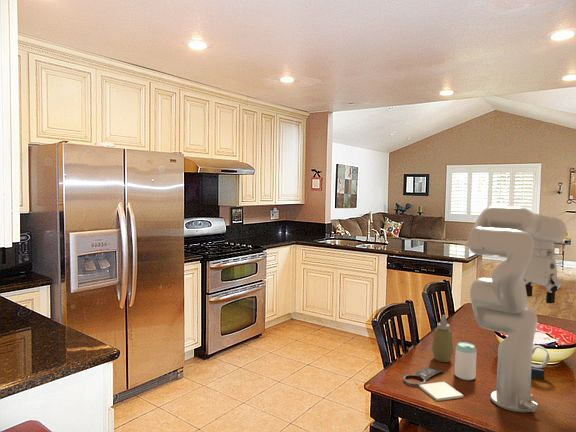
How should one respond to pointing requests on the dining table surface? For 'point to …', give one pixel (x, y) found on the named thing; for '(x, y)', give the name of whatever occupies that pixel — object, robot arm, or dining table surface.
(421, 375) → the keychain
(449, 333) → the squeeze bottle
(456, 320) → the dining table surface
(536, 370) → the watch
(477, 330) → the dining table surface
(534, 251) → the robot arm
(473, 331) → the dining table surface
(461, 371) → the can
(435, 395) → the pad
